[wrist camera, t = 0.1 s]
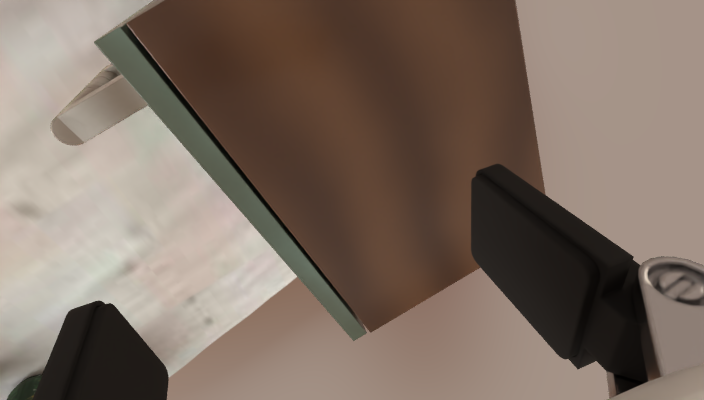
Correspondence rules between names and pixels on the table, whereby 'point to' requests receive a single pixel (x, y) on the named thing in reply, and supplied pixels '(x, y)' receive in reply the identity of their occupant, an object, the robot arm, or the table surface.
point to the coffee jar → (25, 389)
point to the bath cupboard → (359, 124)
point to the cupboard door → (176, 113)
